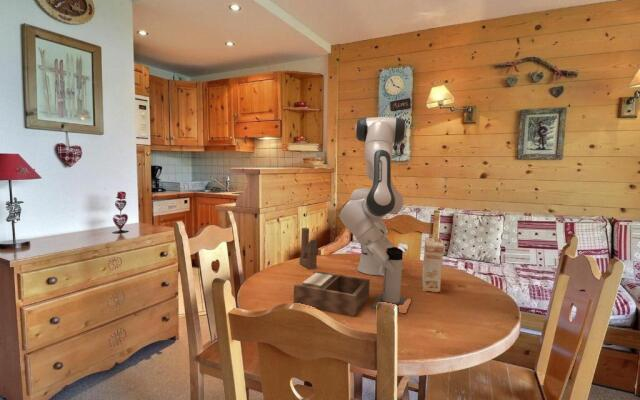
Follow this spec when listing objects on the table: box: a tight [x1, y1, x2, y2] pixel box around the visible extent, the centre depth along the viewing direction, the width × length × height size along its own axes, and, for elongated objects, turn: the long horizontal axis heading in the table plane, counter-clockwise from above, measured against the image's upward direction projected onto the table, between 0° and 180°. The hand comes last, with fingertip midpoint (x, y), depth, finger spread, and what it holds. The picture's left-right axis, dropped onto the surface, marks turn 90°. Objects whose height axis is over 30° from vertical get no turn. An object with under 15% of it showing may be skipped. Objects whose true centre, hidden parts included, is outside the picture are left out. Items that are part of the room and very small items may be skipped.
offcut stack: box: [302, 273, 332, 289], centre depth 135 cm, size 8×13×8 cm, turn 159°
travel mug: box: [382, 246, 404, 305], centre depth 130 cm, size 6×7×20 cm
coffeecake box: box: [421, 237, 445, 292], centre depth 151 cm, size 15×7×20 cm, turn 164°
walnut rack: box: [293, 270, 371, 317], centre depth 132 cm, size 23×19×7 cm
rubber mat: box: [371, 292, 409, 312], centre depth 131 cm, size 14×12×1 cm
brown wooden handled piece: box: [299, 227, 318, 270], centre depth 173 cm, size 4×11×18 cm, turn 32°
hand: (396, 268), depth 130 cm, fingers closed on travel mug, 6 cm apart
